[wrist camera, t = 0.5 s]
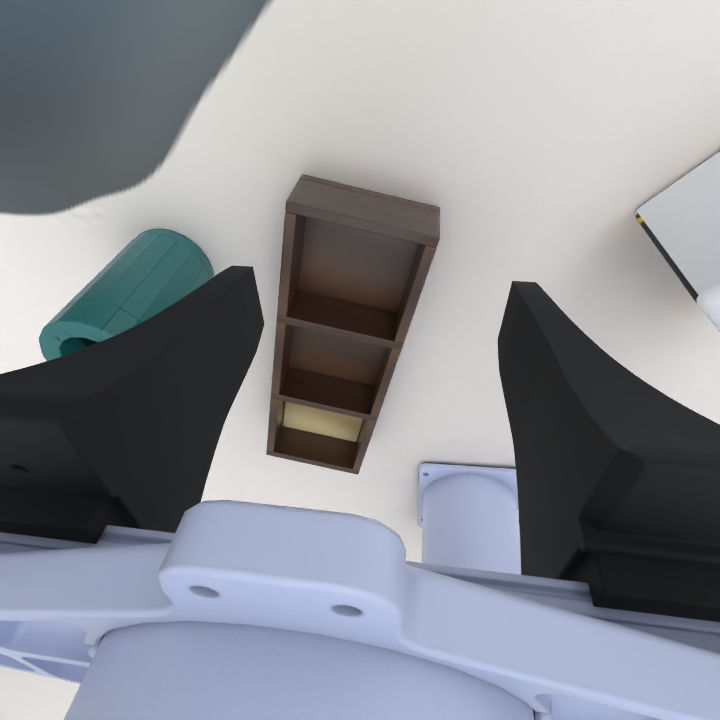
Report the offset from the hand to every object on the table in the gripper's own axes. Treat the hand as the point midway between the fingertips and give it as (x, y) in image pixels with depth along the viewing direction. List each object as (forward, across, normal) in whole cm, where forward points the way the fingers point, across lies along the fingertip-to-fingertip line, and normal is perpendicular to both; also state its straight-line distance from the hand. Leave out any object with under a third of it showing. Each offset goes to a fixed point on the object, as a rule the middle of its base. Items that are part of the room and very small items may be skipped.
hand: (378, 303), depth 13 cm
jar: (+10, +12, +6) cm, 17 cm away
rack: (+10, +3, +10) cm, 15 cm away
